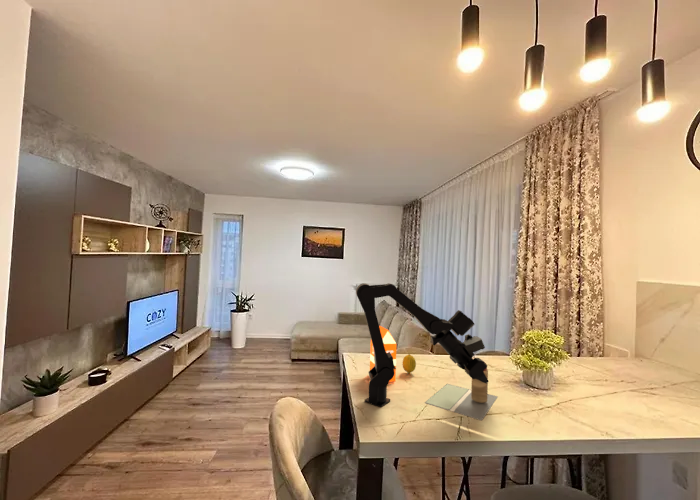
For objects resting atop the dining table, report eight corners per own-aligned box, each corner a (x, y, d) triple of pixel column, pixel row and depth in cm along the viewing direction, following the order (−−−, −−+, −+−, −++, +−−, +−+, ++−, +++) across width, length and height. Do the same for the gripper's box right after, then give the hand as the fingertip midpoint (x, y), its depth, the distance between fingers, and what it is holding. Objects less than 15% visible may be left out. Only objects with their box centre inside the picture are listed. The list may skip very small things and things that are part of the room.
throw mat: (481, 422, 94) (481, 420, 94) (424, 404, 104) (424, 402, 104) (497, 398, 111) (497, 396, 111) (447, 385, 122) (447, 383, 122)
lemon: (415, 376, 130) (416, 356, 131) (402, 375, 132) (402, 355, 132) (415, 371, 136) (416, 353, 136) (402, 370, 137) (402, 351, 137)
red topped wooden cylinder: (485, 404, 103) (486, 363, 104) (469, 399, 106) (470, 360, 107) (488, 399, 107) (489, 359, 108) (473, 394, 110) (474, 356, 111)
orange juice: (377, 382, 122) (379, 330, 123) (369, 374, 131) (370, 325, 131) (396, 381, 124) (397, 329, 125) (386, 373, 133) (388, 325, 134)
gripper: (481, 335, 98) (516, 372, 98) (458, 323, 117) (487, 354, 117) (455, 360, 98) (490, 397, 97) (437, 344, 116) (466, 375, 116)
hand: (483, 379), depth 107 cm, fingers closed on red topped wooden cylinder, 5 cm apart
